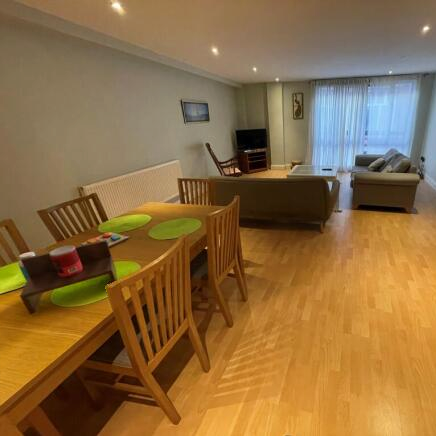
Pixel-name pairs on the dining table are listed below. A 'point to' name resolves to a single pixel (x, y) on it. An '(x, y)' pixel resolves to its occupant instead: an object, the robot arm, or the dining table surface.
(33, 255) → the pill bottle
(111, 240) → the puzzle board
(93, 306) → the dining table surface
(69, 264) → the canned food
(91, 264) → the shelf
